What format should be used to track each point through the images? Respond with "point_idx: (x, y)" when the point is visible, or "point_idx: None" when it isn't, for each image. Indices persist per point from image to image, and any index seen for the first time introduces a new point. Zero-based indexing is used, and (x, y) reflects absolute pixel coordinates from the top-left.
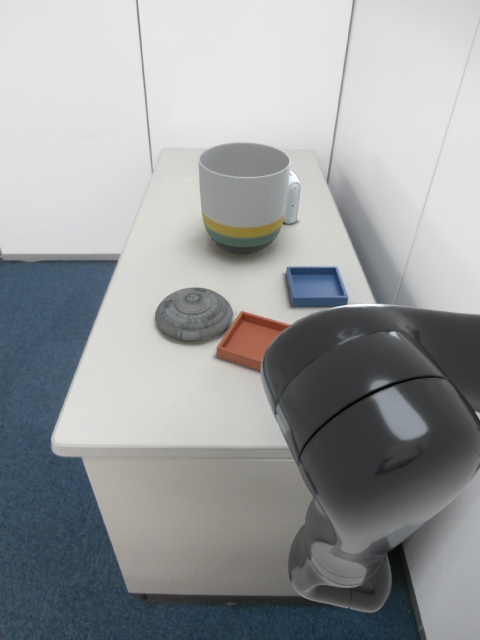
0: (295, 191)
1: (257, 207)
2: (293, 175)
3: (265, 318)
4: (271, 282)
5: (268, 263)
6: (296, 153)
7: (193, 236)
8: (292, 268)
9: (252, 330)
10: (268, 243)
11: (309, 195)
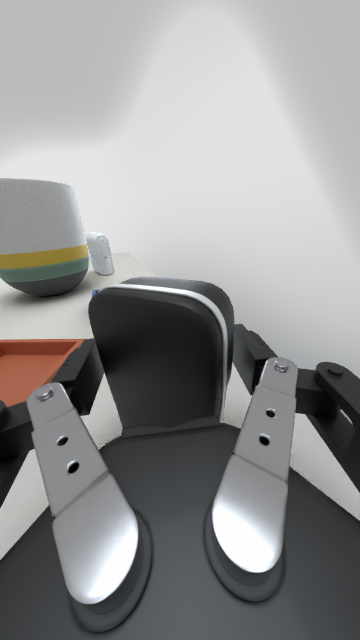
0: (103, 243)
1: (33, 223)
2: (99, 232)
3: (34, 340)
4: (76, 309)
5: (79, 297)
6: (120, 253)
7: (5, 294)
8: (98, 291)
9: (11, 365)
10: (72, 276)
11: (127, 263)
